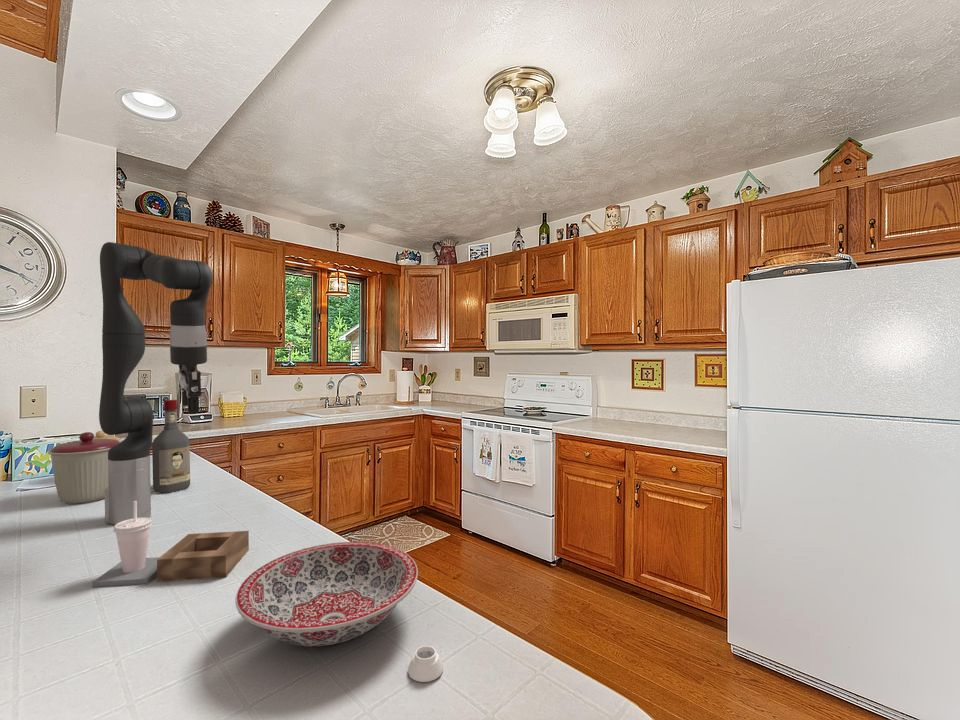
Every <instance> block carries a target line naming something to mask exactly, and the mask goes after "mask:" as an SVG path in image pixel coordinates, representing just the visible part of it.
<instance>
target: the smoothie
mask: <svg viewBox="0 0 960 720" xmlns="http://www.w3.org/2000/svg"><path fill="white" fill-rule="evenodd" d="M133 506H134V518H133V519H128V520H125V521H122V522H119V523H117V524H116V525H114V526H113V532H114V533H115V536H116V539H117V546H118V551H119V557H120V558H119V559H120V562H121V564H122V569H123V572H125V573H131V572H135V571H139V570H141V569H143V568H144V567H145V561H146V558H147V553H148V545H149V544H148V543H149V537H150V529H151V528H150V527H151V526H152V525H153V521H152V518H150V517H149V518H146V517H142V518H137V501H133Z"/></svg>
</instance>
